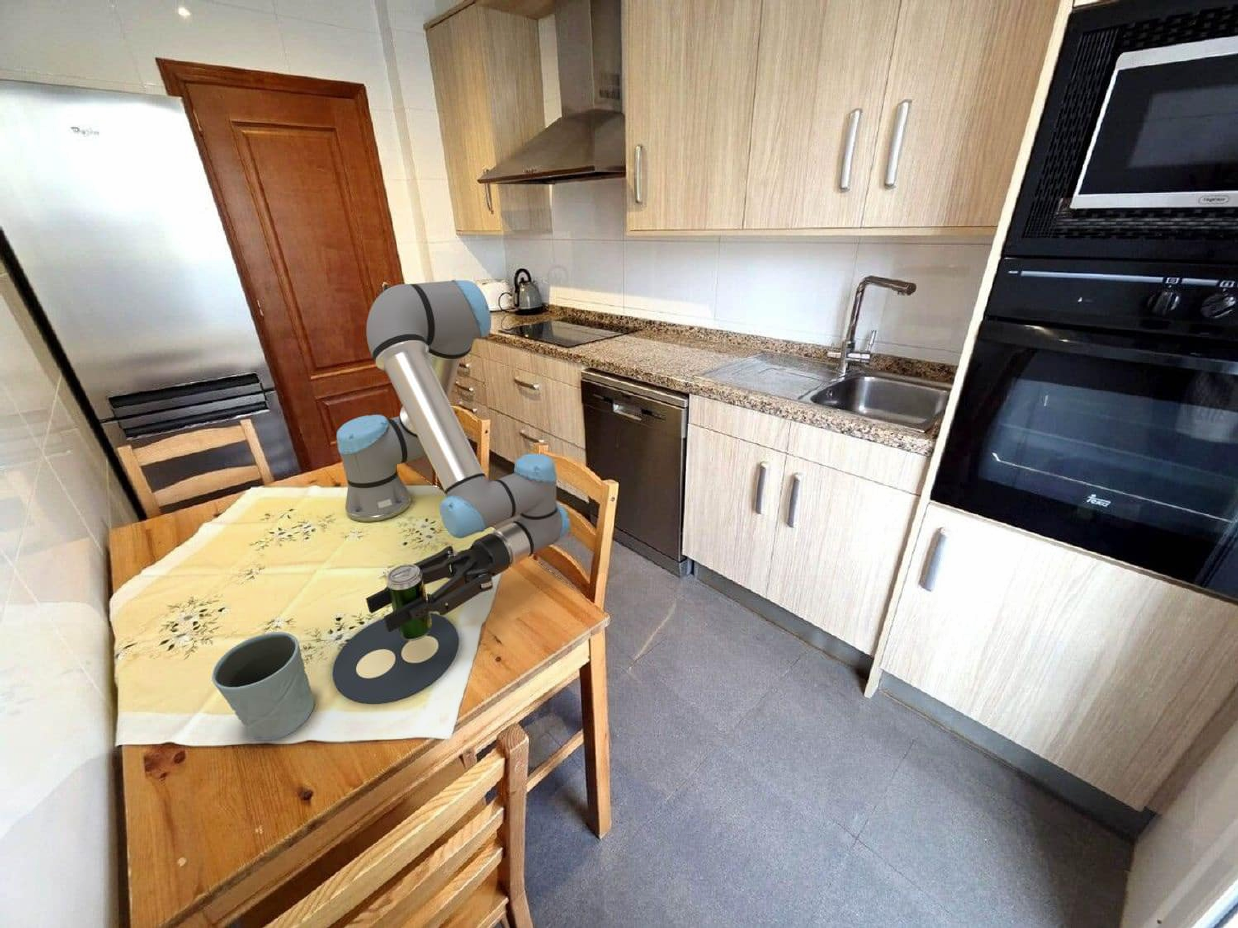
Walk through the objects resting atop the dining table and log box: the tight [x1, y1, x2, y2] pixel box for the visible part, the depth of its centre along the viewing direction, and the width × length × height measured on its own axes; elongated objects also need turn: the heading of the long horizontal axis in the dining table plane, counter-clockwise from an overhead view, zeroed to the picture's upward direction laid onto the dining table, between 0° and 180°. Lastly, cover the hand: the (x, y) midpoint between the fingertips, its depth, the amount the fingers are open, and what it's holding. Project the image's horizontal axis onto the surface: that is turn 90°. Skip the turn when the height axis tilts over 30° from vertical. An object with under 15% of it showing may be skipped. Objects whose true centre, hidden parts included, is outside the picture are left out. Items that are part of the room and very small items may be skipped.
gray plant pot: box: [211, 631, 315, 742], centre depth 73 cm, size 10×10×12 cm
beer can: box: [386, 563, 432, 641], centre depth 82 cm, size 5×5×12 cm
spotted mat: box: [332, 612, 459, 705], centre depth 86 cm, size 20×20×1 cm
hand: (377, 614), depth 78 cm, fingers closed on beer can, 5 cm apart
